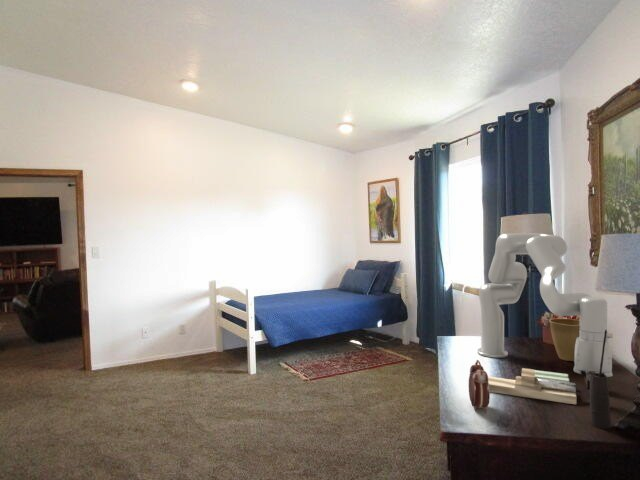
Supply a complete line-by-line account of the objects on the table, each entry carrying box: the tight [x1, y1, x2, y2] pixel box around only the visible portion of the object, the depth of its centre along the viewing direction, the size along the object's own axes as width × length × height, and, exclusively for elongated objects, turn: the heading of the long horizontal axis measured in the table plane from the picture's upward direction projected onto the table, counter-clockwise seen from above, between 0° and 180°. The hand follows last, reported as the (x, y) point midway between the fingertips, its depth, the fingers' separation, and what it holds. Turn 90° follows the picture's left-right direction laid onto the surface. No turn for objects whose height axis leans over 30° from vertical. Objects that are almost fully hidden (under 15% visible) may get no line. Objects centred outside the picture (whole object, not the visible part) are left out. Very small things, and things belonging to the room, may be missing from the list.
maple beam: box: [488, 367, 577, 405], centre depth 149 cm, size 8×28×7 cm, turn 64°
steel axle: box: [535, 378, 577, 393], centre depth 146 cm, size 16×3×3 cm, turn 64°
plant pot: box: [549, 318, 580, 362], centre depth 186 cm, size 15×15×16 cm
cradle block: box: [534, 369, 570, 382], centre depth 153 cm, size 7×11×4 cm, turn 63°
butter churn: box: [588, 329, 612, 430], centre depth 125 cm, size 9×10×28 cm
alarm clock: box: [468, 359, 491, 413], centre depth 137 cm, size 11×5×15 cm, turn 170°
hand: (592, 391), depth 141 cm, fingers closed
